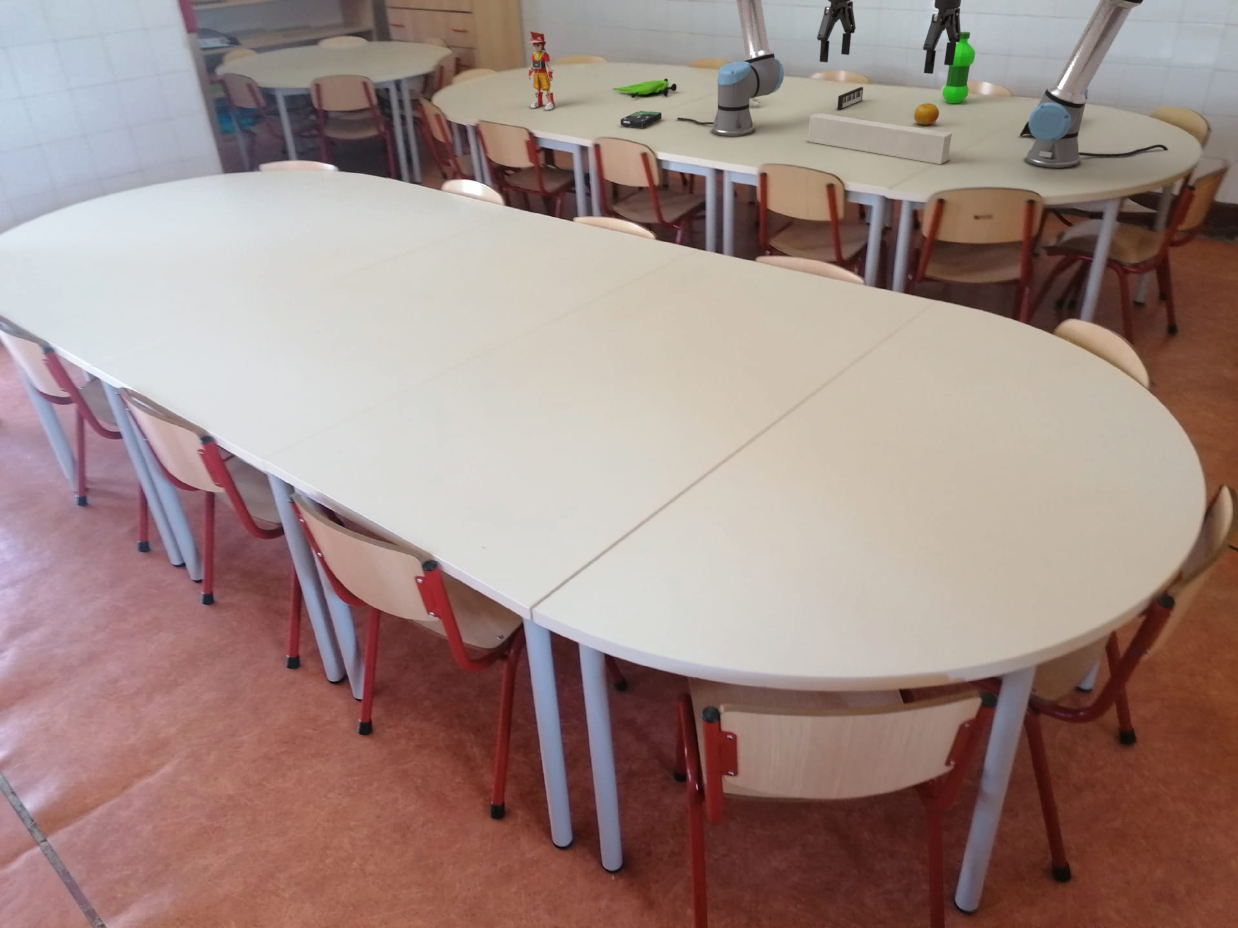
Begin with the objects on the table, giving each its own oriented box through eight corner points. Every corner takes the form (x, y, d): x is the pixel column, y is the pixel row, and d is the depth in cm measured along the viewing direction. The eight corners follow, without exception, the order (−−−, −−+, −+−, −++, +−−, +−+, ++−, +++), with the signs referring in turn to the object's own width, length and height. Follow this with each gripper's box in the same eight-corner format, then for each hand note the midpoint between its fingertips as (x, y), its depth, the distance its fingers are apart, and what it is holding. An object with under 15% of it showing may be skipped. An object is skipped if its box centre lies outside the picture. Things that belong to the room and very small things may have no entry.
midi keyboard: (840, 109, 354) (841, 96, 351) (837, 109, 355) (838, 96, 352) (862, 100, 364) (863, 87, 361) (859, 100, 365) (860, 87, 362)
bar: (808, 141, 320) (810, 116, 315) (815, 138, 323) (817, 113, 318) (940, 164, 291) (944, 137, 286) (947, 160, 294) (952, 133, 289)
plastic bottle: (973, 101, 354) (984, 32, 339) (955, 106, 349) (966, 36, 335) (952, 97, 361) (962, 29, 346) (934, 102, 356) (944, 33, 342)
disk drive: (643, 129, 346) (662, 119, 356) (642, 121, 344) (661, 112, 354) (620, 126, 351) (639, 117, 361) (620, 119, 349) (639, 109, 359)
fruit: (909, 116, 327) (923, 96, 324) (910, 119, 335) (924, 100, 332) (928, 129, 326) (942, 109, 323) (929, 132, 334) (943, 112, 331)
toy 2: (686, 85, 398) (631, 84, 414) (685, 72, 395) (629, 72, 411) (651, 104, 381) (596, 103, 397) (650, 92, 378) (594, 91, 394)
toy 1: (525, 109, 381) (517, 32, 364) (534, 104, 388) (527, 28, 371) (550, 110, 377) (543, 32, 360) (559, 105, 384) (553, 28, 367)
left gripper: (829, -7, 281) (824, 66, 293) (870, -17, 295) (863, 52, 307) (809, -8, 285) (804, 64, 297) (850, -18, 299) (844, 50, 312)
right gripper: (941, 0, 259) (931, 78, 271) (979, -12, 274) (967, 62, 286) (917, -2, 263) (908, 75, 275) (955, -13, 278) (945, 60, 290)
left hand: (834, 58), depth 302 cm, fingers open, 13 cm apart
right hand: (938, 69), depth 281 cm, fingers open, 13 cm apart
